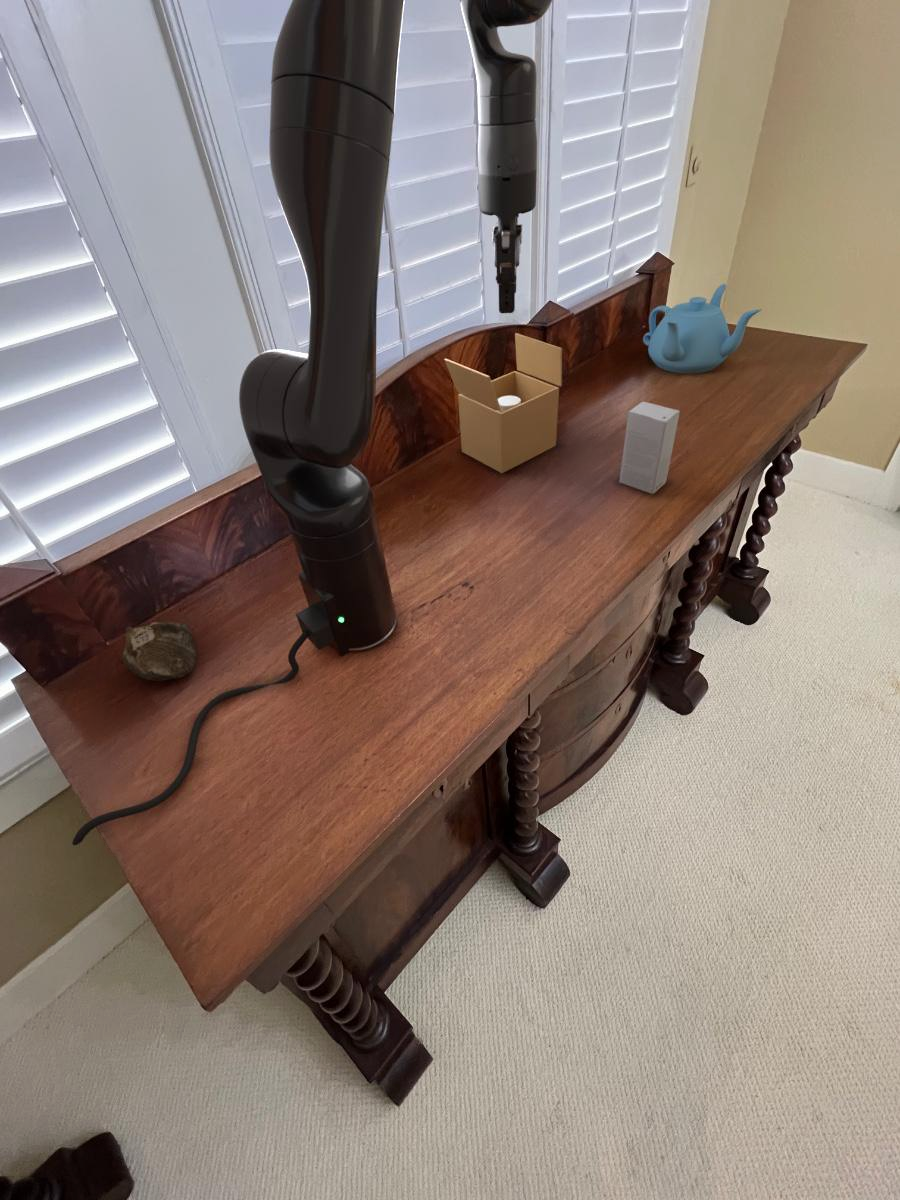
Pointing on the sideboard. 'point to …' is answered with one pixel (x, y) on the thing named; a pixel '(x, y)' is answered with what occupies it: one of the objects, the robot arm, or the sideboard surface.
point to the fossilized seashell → (160, 651)
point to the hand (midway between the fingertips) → (507, 302)
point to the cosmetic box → (648, 446)
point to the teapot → (693, 335)
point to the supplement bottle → (508, 402)
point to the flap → (473, 384)
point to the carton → (516, 410)
